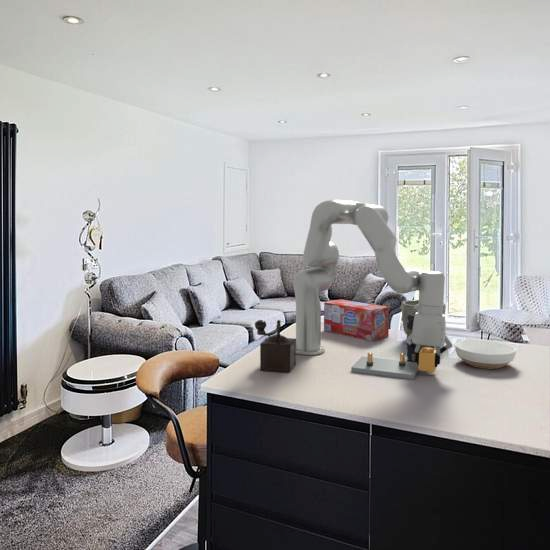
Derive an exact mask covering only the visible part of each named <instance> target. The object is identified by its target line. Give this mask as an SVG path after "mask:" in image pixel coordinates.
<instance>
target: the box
mask: <svg viewBox="0 0 550 550" xmlns="http://www.w3.org/2000/svg"><path fill="white" fill-rule="evenodd" d="M323 306H324V307H323V331H324V332H330V333H334V334H337V335H338V334H339V335H342V336H348V337H351V338H356V339H360V340H364V341H369V342H372V341H376V340H379V339H383V338H386V337H388V338H389V336H390V335H389V333H390V332H389V327H390V326H389V325H390V324H389V322H390V321H389V320H390V319H389V317H390V306H385V305H380V304H372V303H366V302H360V301H356V300H355V301H354V300H353V301H352V300H349V299H341V298H340V299H335V300H329V301H324V304H323Z"/></svg>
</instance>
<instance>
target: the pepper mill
mask: <svg viewBox="0 0 550 550" xmlns="http://www.w3.org/2000/svg"><path fill="white" fill-rule="evenodd" d="M254 326H255V329H256V330H257V332H256V334H257V335H258V336H268V337H266V338H264V340H263V341H262V342H260V343H259V349H260V350H259V351H260V352H259V353H260V354H259V356H260V361H259V363H260V364H259V365H260V367H259V368H260V369H259V370H260V371H263V372H271V373H272V372H273V373H280V374H281V373H282V374H283V373H284V374H289V373H291V372H292V371H293V369H294V368H295V366H296V364H297V358H296V357H297V354H296V339H295V338H293V337H291V338H290V337H286V336H284V335H281V332H280V331H281V320H280V319H277V320H276V327H275V329H274V331H272V332H269V333H268V332H266V331H265V329H266V328H267V322H266V321H265V320H263V319H259V320H257V321H255V322H254Z"/></svg>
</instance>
